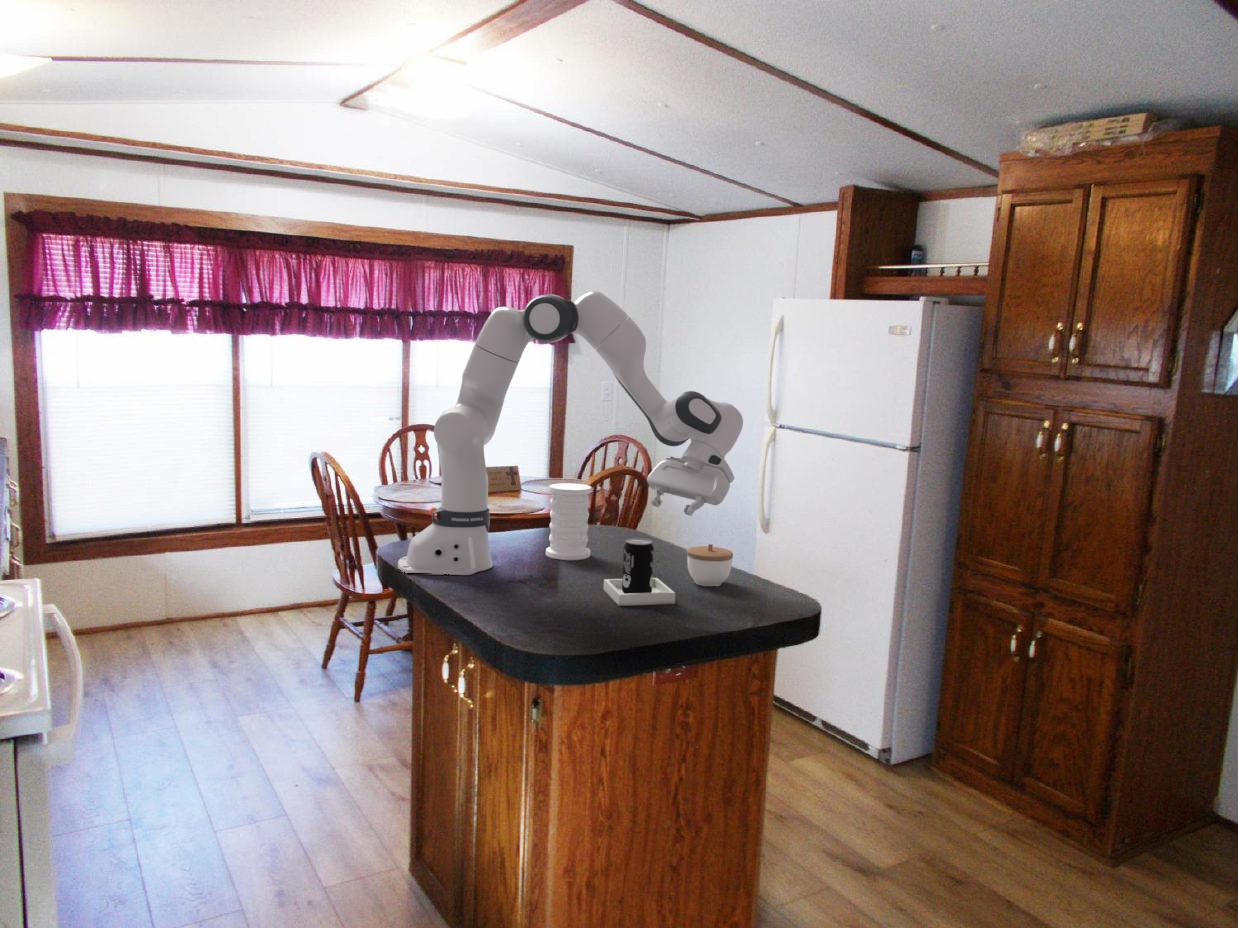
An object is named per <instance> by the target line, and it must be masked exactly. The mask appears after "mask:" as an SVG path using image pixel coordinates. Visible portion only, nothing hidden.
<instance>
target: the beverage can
mask: <svg viewBox="0 0 1238 928" xmlns="http://www.w3.org/2000/svg"><path fill="white" fill-rule="evenodd" d="M654 549H655V548H654V545H653V540H651V539H648V538H643V537H633V538H628V539H626V540H625V544H624V546H623V555H622V556H623V557H622V578H621V579H622V591H623V592H624V594H628V593H651V592H652V578H653V573H654V571H653V570H654V553H655V552H654V551H655V550H654Z"/></svg>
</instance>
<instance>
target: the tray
mask: <svg viewBox="0 0 1238 928" xmlns="http://www.w3.org/2000/svg"><path fill="white" fill-rule="evenodd" d="M602 590H603V591H604V592H605V593H606V594H607V595H608V596H609V597H610V598H611V600H612V601H613V602H614V603H615V604H616V605H617V606H618V607H620V606H622V607H625V606H628V607H629V606H647V605H648V606H652V605H674V604H676V592H675V591H674V590H672V589H671V588H670V587H669V586H668V585H666V584H665V583H664V582H663V581H662V580H660V579H659V578H658V577H652V592H651V593H628V594H624V592H623V591H622V578H608V579H605V578H604V579H603V589H602Z"/></svg>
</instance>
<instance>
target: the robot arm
mask: <svg viewBox="0 0 1238 928" xmlns="http://www.w3.org/2000/svg"><path fill="white" fill-rule="evenodd" d="M570 334H576V335H579V336H580V337H582V338H583V339H584V340H585V341H586V342H587V343H588V344H589V345H590V346H591V347H592V348H593V349H594V350H595V351H596V353H598V355H599V356H600V357H601V358H602V359H603V361H604V362H605V363H606V365H608V367H609V368H610V370H611V371H612V374H613V375H614V377H615V378H616V380H617V382H618V383H619V384H620V386H621V387H622V388H623V390H624V391H625V392H626V394H627V395H628V396H629V398H630V399H631V400H632V401H633V402H634V404H635V405H636V406H637V407H638V409H639V410H640V411H641V413H642V414H643V415H644V417H645V418H646V420H647V422H648V424H649V426H650V428H651V429H650V430H651V431H652V433H653V435H654V436H655V438H656V440H658V441H659V442H660V443H661V444H664V445H665V446H668V447H678V446H681V445H683V444H685V443H686V442H687V441H688V440H690V441H691V443H690V444H689V445H688V447H687V448H686V450H685V451H684V453H683V455H682V456H681V457H680V458H679V457H674V456H668V457H665V458H662V460H660V461H659V462H658V463H657V465H655V467H654V468H653V469H652V471H650V473H649V474H647V475H648V476H647V478H646V482H647V484H648V486H649V487H650V489H652V491H654V492H653V495H654V496H653V497H652V500H650V501H651V505H652V506H653V507H657V508H659V507H660V506H661V505H662V504H663V501H662V499H661V496H664V494H669V495H671V496H677V497H680V498H684V499H689V500H692V501H693V502H692V503H691V504H686V506H685V507H684V509H683V513H685V515H687V516H691V517H692V516H693V514H694V513H695V511H697V510H699V509H701V508H702V507H703V506H704V505H705V504H709V505H712V506H717V505H718V506H719V505H720V504H722V502H723V501H724V499H725V498H726V497H727V494H728V492H729V490H730V488H731V483H732V482H733V481H734V480H735V476H734V473H733V471H732V469H731V467H730V465H729V464H728V461H726V459H725V457H726V455H727V454H728V453H729V452H731V450H732V449H733V447H734V446H735V444H736V442H737V440H738V439H739V437H740V434H741V432H742V430H743V425H744V418H743V414H742V413H741V412H740V411H739V410H738V408H737V407H735V406H734V405H733V404H731V403H728V402H718V401H714V400H712V399H709V398H707V397H706V396H705V395H703V394H702V393H700V392H697V391H694V390H692V391H691V390H689V391H684V392H682V393H681V394H680V395H678V396H676V397H675V398H674V399H673V400H672V401H668V400H666V399H665V397H664V396H663V395H662V394H661V392H660V391H659V390H658V389H657V388H656V386H655V384H653V383H652V381H651V380H650V379H649V378H648V376H647V374H646V370H645V367H644V360H645V354H646V352H647V351H646V350H647V340H646V337H645V335H644V333H643V331H642V329H641V327H639V325H638V323H636V322H635V321H634V320H633V319H632V318H631V317H629V315H628V314H627V312H625V311H624V310H623V309H622V308H621V307H620V306H619V305H618V304H617V303H616V302H615V301H613V300H612V299H610V297H608V296H607V295H605V294H604V293H602V292H600V291H598V290H591V291H587V292H585V293H583V294H582V295H580V296H579V297H578V298H577V299H575V300H573V301H572V300H568V299H565V298H564V297H562V296H560V295H558V294H554V293H547V294H546V293H545V294H542V295H541V294H540V295H538V296H535V297H534V298H532V299H531V300H529V302H528V303H527V304H526V306H525V308H524V309H516V308H514V307H511V306H499V307H496V308H495V309H494V310H492V312H491V313H490V315H489V316H488V318H487V319H486V321H485V322H484V324H483V326H482V328H481V330H480V331H479V334H478V336H477V339H476V341H475V343H474V346H473V348H472V350H471V352H470V355H469V358H468V360H467V362H466V365H465V368H464V370H463V373H462V376H461V377H462V378H461V385H460V389H459V393H458V397H457V401H456V403H455V406H453V407H450V408H448V409H447V410H445V411H444V412H442V413H441V414H440V415H439V417H438V419H436V422H435V424H434V427H433V437H434V440H435V442H436V446H437V453H438V460H439V465H440V466H439V467H440V473H441V485H440V486H441V494H440V495H441V498H440V499H441V500H440V502H441V503H440V507H438V508H437V507H435V506H432V507H430V509H429V514H430V516H431V520H432V523H431V524H430V525H428V526H427V527H426V528H424V529H423V530H422V531H420V532H418V534H416V535H415V536H413V537H412V539H411V540H410V542H409V545H408V549H407V553H406V556H403V557H400V558H399V559H398V561H397V568H398V570H399V569H400V570H401V571H400V570H399V571H400V572H402V573H404V572H405V573H404V574H407V573H432V574H431V575H444V574H447V575H448V574H449V576H451V575H452V576H453V575H455V576H471V575H473V574H475V573H478V572H482V571H486V570H489V569H491V568H493V566H494V564H493V560H492V556H491V550H490V544H489V543H490V542H489V530H490V526H491V525H490V520H491V519H490V515H491V514H490V509H489V507H488V506H489V505H488V503H489V474H488V472H487V467H486V466H487V465H486V460H485V459H486V457H485V445H487V444H488V443H489V442H490V441H491V440H492V438H493V437H494V434H495V432H496V428H497V425H498V423H499V420H500V417H501V416H500V415H501V413H502V410H503V406H504V403H505V398H506V395H507V392H508V389H509V387H510V384H511V383H512V380H513V378H514V375H515V372H516V370H517V368H518V366H519V362H520V361H521V358H522V355H523V353H524V351H525V349H526V347H527V346H528V345H529V343H530V342H531V341H533V340H536V341H537V342H541V343H547V344H550V343H551V344H553V343H556V342H560V341H561V340H563V339H564V338H566V337H567V336H568V335H570Z"/></svg>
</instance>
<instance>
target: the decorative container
mask: <svg viewBox="0 0 1238 928" xmlns="http://www.w3.org/2000/svg"><path fill="white" fill-rule="evenodd" d="M549 492H550V493H551V498H550V501H549V503H550V506H551V507H550V509H551V510H550V512H549V516H550V522H549V524H548V525H549V530H550V533H549V537H548V540H549V546H548V547H547V548H546V549H545V555H546V556H547V557H549V558H550V559H555V560H561V561H579V560H585V559H588V558H590V557H591V549H589V547H588V548H587V543H588V542H589V536H588V531H589V523H588V519H589V517H590V512H589V506H590V498H589V494H592V486H591V485H588V484H583V483H575V482H574V483H573V482H572V483H568V482H565V483H563V482H561V483H553V484H550V485H549Z"/></svg>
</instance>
